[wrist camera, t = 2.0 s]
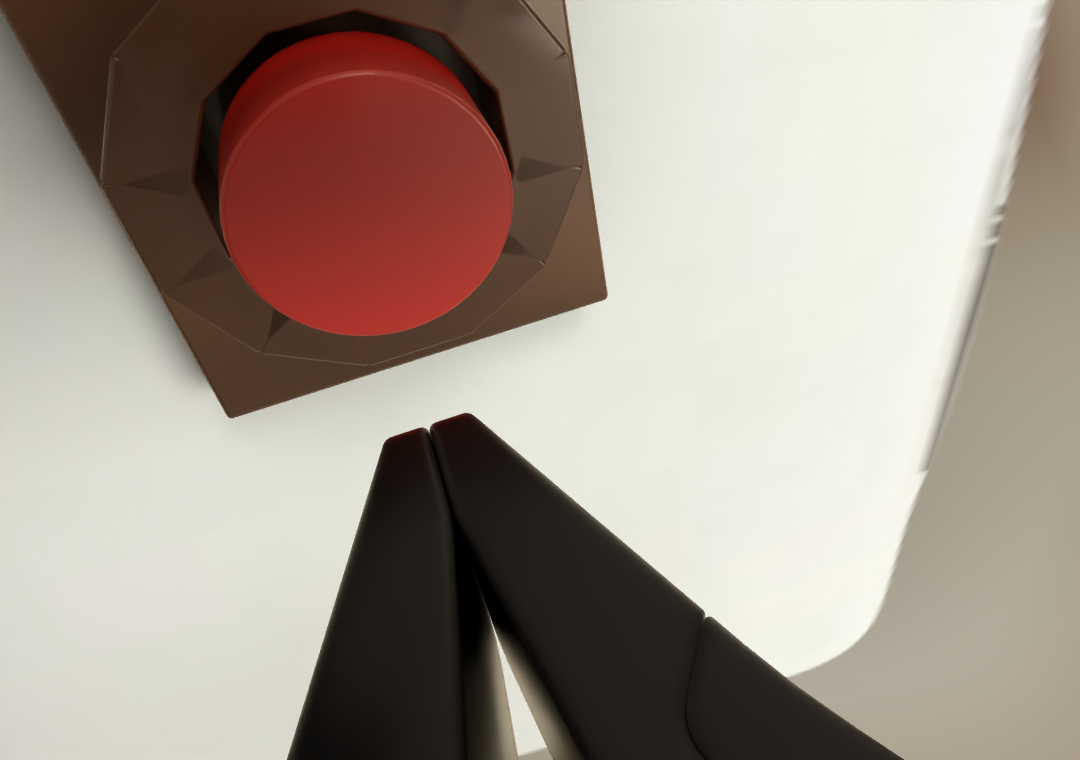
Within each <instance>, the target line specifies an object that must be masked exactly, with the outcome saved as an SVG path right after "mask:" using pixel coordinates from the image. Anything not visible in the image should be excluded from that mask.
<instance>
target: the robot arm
mask: <svg viewBox="0 0 1080 760" xmlns="http://www.w3.org/2000/svg"><path fill="white" fill-rule="evenodd" d="M488 612H489V613H488ZM489 615H490V616H489ZM490 617H491V619H490ZM491 620H492V623H493V626H494V629H495V631H496V634H497V637H498V640H499V642H500V645H501V647H502V649H503V652H504V654H505V656H506V659H507V661H508V663H509V665H510V668H511V670H512V672H513V674H514V676H515V678H516V680H517V683H518V685H519V687H520V689H521V691H522V693H523V696H524V698H525V700H526V702H527V704H528V706H529V708H530V711H531V713H532V715H533V717H534V719H535V721H536V724H537V726H538V728H539V730H540V732H541V734H542V737H543V739H544V741H545V743H546V745H547V747H548V749H549V752H550V754H551V756H552V758H553V760H904V759H902V758H901V757H899V756H898V755H896V754H895V753H893V752H892V751H890V750H889V749H887V748H886V747H884V746H883V745H881V744H880V743H878V742H877V741H875V740H873V739H872V738H871V737H869V736H868V735H866V734H865V733H863V732H862V731H860V730H859V729H857V728H856V727H854V726H853V725H851V724H850V723H849V722H847V721H846V720H844V719H843V718H841V717H840V716H839V715H837V714H836V713H834V712H833V711H832V710H830V709H829V708H827V707H826V706H824V705H823V704H822V703H820V702H819V701H817V700H816V699H814V698H813V697H812V696H810V695H809V694H807V693H806V692H805V691H803V690H802V689H800V688H799V687H797V686H796V685H795V684H793V683H792V682H791V681H790V680H788V679H787V678H786V677H785V676H783V675H782V674H781V673H780V672H778V671H777V670H776V669H775V668H773V667H772V666H771V665H770V664H768V663H767V662H766V661H765V660H763V659H762V658H761V657H759V656H758V655H757V654H756V653H754V652H753V651H752V650H751V649H749V648H748V647H747V646H746V645H744V644H743V643H742V642H741V641H740V640H738V639H737V638H736V637H735V636H734V635H733V634H731V633H730V632H729V631H728V630H727V629H726V628H724V627H723V626H722V625H721V624H720V623H718V622H717V621H716V620H715V619H714V618H712V617H706V618H705V612H704V611H703V610H702V609H701V608H700V607H699V606H698V605H697V604H695V603H694V602H693V601H692V600H691V599H690V598H688V597H687V596H686V595H685V594H684V593H682V592H681V591H680V590H679V589H678V588H677V587H675V586H674V585H673V584H672V583H671V582H670V581H668V580H667V579H666V578H665V577H664V576H662V575H661V574H660V573H659V572H658V571H657V570H655V569H654V568H653V567H652V566H651V565H649V564H648V563H647V562H646V561H645V560H644V559H642V558H641V557H640V556H639V555H638V554H637V553H635V552H634V551H633V550H632V549H631V548H629V547H628V546H627V545H626V544H625V543H624V542H622V541H621V540H620V539H619V538H618V537H616V536H615V535H614V534H613V533H612V532H611V531H609V530H608V529H607V528H606V527H605V526H604V525H602V524H601V523H600V522H599V521H598V520H596V519H595V518H594V517H593V516H592V515H591V514H589V513H588V512H587V511H586V510H585V509H583V508H582V507H581V506H580V505H579V504H578V503H576V502H575V501H574V500H573V499H572V498H571V497H569V496H568V495H567V494H566V493H565V492H563V491H562V490H561V489H560V488H559V487H558V486H556V485H555V484H554V483H553V482H552V481H550V480H549V479H548V478H547V477H546V476H545V475H543V474H542V473H541V472H540V471H539V470H538V469H536V468H535V467H534V466H533V465H532V464H530V463H529V462H528V461H527V460H526V459H525V458H523V457H522V456H521V455H520V454H519V453H518V452H516V451H515V450H514V449H513V448H512V447H510V446H509V445H508V444H507V443H506V442H505V441H503V440H502V439H501V438H500V437H499V436H497V435H496V434H495V433H494V432H493V431H492V430H490V429H489V428H488V427H487V426H486V425H485V424H483V423H482V422H481V421H480V420H479V419H477V418H476V417H475V416H473V415H472V414H469V413H463V414H460V415H457V416H454V417H451V418H448V419H445V420H442V421H439V422H436V423H434V424H432V426H431V427H430V433H429V431H428V430H427V429H426V428H418V429H415V430H412V431H409V432H405V433H402V434H399V435H396V436H393V437H390V438H389V439H387V440H386V441H385V443H384V445H383V448H382V451H381V454H380V457H379V460H378V464H377V467H376V470H375V473H374V477H373V480H372V483H371V486H370V490H369V493H368V496H367V500H366V503H365V506H364V509H363V513H362V516H361V519H360V522H359V526H358V529H357V532H356V535H355V539H354V542H353V545H352V549H351V552H350V555H349V558H348V562H347V565H346V568H345V571H344V575H343V578H342V581H341V584H340V588H339V591H338V594H337V598H336V601H335V604H334V607H333V611H332V614H331V617H330V620H329V624H328V627H327V630H326V634H325V637H324V640H323V643H322V647H321V650H320V653H319V656H318V660H317V663H316V666H315V669H314V673H313V676H312V679H311V683H310V686H309V689H308V692H307V696H306V699H305V702H304V705H303V709H302V712H301V715H300V718H299V722H298V725H297V728H296V732H295V735H294V738H293V741H292V745H291V748H290V751H289V754H288V758H287V760H518V754H517V749H516V743H515V738H514V732H513V726H512V721H511V715H510V709H509V704H508V698H507V693H506V687H505V681H504V676H503V670H502V664H501V660H500V655H499V650H498V645H497V641H496V637H495V633H494V630H493V626H492V623H491Z"/></svg>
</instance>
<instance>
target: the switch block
mask: <svg viewBox="0 0 1080 760" xmlns="http://www.w3.org/2000/svg"><path fill="white" fill-rule="evenodd" d="M0 10H1V11H2V13H3V15H4V17H5V18H6V20H7V22H8V24H9V26H10V27H11V29H12V31H13V33H14V35H15V36H16V38H17V40H18V42H19V44H20V45H21V47H22V49H23V51H24V53H25V54H26V56H27V58H28V60H29V62H30V63H31V65H32V67H33V69H34V71H35V72H36V74H37V76H38V78H39V79H40V81H41V83H42V85H43V87H44V88H45V90H46V92H47V94H48V96H49V97H50V99H51V101H52V103H53V105H54V106H55V108H56V110H57V112H58V114H59V115H60V117H61V119H62V121H63V123H64V124H65V126H66V128H67V130H68V132H69V133H70V135H71V137H72V139H73V140H74V142H75V144H76V146H77V148H78V149H79V151H80V153H81V155H82V157H83V158H84V160H85V162H86V164H87V166H88V167H89V169H90V171H91V173H92V175H93V176H94V178H95V180H96V182H97V184H98V185H99V187H100V189H101V191H102V193H103V194H104V196H105V198H106V200H107V201H108V203H109V205H110V207H111V209H112V210H113V212H114V214H115V216H116V218H117V219H118V221H119V223H120V225H121V227H122V228H123V230H124V232H125V234H126V236H127V237H128V239H129V241H130V243H131V245H132V246H133V248H134V250H135V252H136V254H137V255H138V257H139V259H140V261H141V262H142V264H143V266H144V268H145V270H146V271H147V273H148V275H149V277H150V279H151V280H152V282H153V284H154V286H155V288H156V289H157V291H158V293H159V295H160V297H161V298H162V300H163V302H164V304H165V306H166V307H167V309H168V311H169V313H170V315H171V316H172V318H173V320H174V322H175V323H176V325H177V327H178V329H179V331H180V332H181V334H182V336H183V338H184V340H185V341H186V343H187V345H188V347H189V349H190V350H191V352H192V354H193V356H194V358H195V359H196V361H197V363H198V365H199V367H200V368H201V370H202V372H203V374H204V376H205V377H206V379H207V381H208V383H209V384H210V386H211V388H212V390H213V392H214V393H215V395H216V397H217V399H218V401H219V402H220V404H221V406H222V408H223V410H224V411H225V413H226V415H227V416H228V417H229V418H235V417H238V416H241V415H244V414H248V413H251V412H254V411H257V410H260V409H263V408H266V407H270V406H273V405H276V404H279V403H282V402H285V401H288V400H291V399H295V398H298V397H301V396H304V395H307V394H310V393H313V392H317V391H320V390H323V389H326V388H329V387H332V386H335V385H339V384H342V383H345V382H348V381H351V380H354V379H357V378H361V377H364V376H367V375H370V374H373V373H376V372H379V371H382V370H386V369H389V368H392V367H395V366H398V365H401V364H404V363H408V362H411V361H414V360H417V359H420V358H423V357H426V356H430V355H433V354H436V353H439V352H442V351H445V350H448V349H452V348H455V347H458V346H461V345H464V344H467V343H470V342H473V341H477V340H480V339H483V338H486V337H489V336H492V335H495V334H499V333H502V332H505V331H508V330H511V329H514V328H517V327H521V326H524V325H527V324H530V323H533V322H536V321H539V320H543V319H546V318H549V317H552V316H555V315H558V314H561V313H564V312H568V311H571V310H574V309H577V308H580V307H583V306H586V305H590V304H593V303H596V302H599V301H602V300H605V299H606V298H607V287H606V280H605V273H604V266H603V259H602V252H601V245H600V238H599V232H598V225H597V218H596V211H595V204H594V197H593V190H592V183H591V176H590V169H589V162H588V155H587V149H586V142H585V135H584V128H583V121H582V114H581V107H580V100H579V93H578V86H577V79H576V72H575V66H574V59H573V52H572V45H571V38H570V31H569V24H568V17H567V10H566V3H565V0H0ZM345 31H361V32H373V33H378V34H383V35H388V36H392V37H395V38H398V39H400V40H403V41H406V42H409V43H411V44H413V45H415V46H417V47H419V48H421V49H423V50H425V51H426V52H428V53H429V54H431V55H432V56H433V57H435V58H436V59H438V60H439V61H440V62H442V63H443V64H444V65H445V66H446V67H447V68H448V69H449V70H450V71H451V72H453V74H454V75H455V76H456V77H457V78H458V79H459V81H460V82H461V83H462V84H463V85H464V87H465V88H466V90H467V92H468V93H469V95H470V96H471V98H472V100H473V101H474V103H475V104H476V106H477V107H478V109H479V111H480V112H481V114H482V115H483V117H484V119H485V120H486V122H487V123H488V125H489V127H490V128H491V130H492V131H493V133H494V134H495V136H496V138H497V139H498V141H499V143H500V145H501V147H502V150H503V152H504V154H505V156H506V159H507V163H508V166H509V170H510V173H511V180H512V187H513V211H512V218H511V224H510V228H509V231H508V235H507V239H506V242H505V244H504V246H503V249H502V251H501V253H500V256H499V258H498V259H497V261H496V263H495V264H494V266H493V268H492V270H491V271H490V272H489V274H488V275H487V276H486V278H485V279H484V280H483V282H482V283H481V284H480V285H479V286H478V287H477V288H476V289H475V290H474V291H473V292H472V293H471V294H470V295H469V296H468V297H467V298H466V299H465V300H463V301H462V302H461V303H460V304H458V305H457V306H456V307H454V308H453V309H451V310H450V311H448V312H447V313H445V314H444V315H442V316H440V317H438V318H436V319H434V320H432V321H430V322H428V323H425V324H423V325H420V326H417V327H415V328H412V329H408V330H404V331H401V332H397V333H391V334H384V335H377V336H352V335H341V334H335V333H330V332H325V331H322V330H318V329H315V328H312V327H309V326H306V325H304V324H302V323H299V322H297V321H295V320H293V319H291V318H289V317H288V316H286V315H284V314H282V313H281V312H279V311H278V310H276V309H275V308H274V307H272V306H271V305H270V304H268V303H267V302H266V301H264V300H263V299H262V298H261V297H260V296H259V295H258V294H257V293H256V292H255V291H254V290H253V289H252V288H251V287H250V286H249V284H248V283H247V282H246V281H245V279H244V278H243V277H242V275H241V274H240V273H239V271H238V269H237V267H236V266H235V264H234V262H233V260H232V259H231V257H230V254H229V252H228V249H227V246H226V244H225V241H224V237H223V233H222V228H221V224H220V212H219V176H218V152H219V139H220V134H221V130H222V126H223V121H224V119H225V116H226V114H227V111H228V109H229V106H230V104H231V102H232V101H233V99H234V97H235V95H236V94H237V92H238V90H239V89H240V87H241V86H242V85H243V84H244V82H245V81H246V80H247V79H248V77H249V76H250V75H251V74H252V73H253V72H254V71H255V70H256V69H257V68H258V67H259V66H260V65H261V64H262V63H263V62H265V61H266V60H268V59H269V58H270V57H272V56H273V55H275V54H276V53H277V52H279V51H281V50H283V49H285V48H286V47H288V46H290V45H292V44H294V43H296V42H299V41H302V40H305V39H308V38H311V37H313V36H317V35H322V34H327V33H332V32H345Z"/></svg>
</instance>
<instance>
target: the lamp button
mask: <svg viewBox="0 0 1080 760" xmlns="http://www.w3.org/2000/svg"><path fill="white" fill-rule="evenodd" d="M218 176H219V212H220V224H221V228H222V233H223V237H224V241H225V244H226V246H227V249H228V252H229V254H230V257H231V259H232V260H233V262H234V264H235V266H236V267H237V269H238V271H239V273H240V274H241V275H242V277H243V278H244V279H245V281H246V282H247V283H248V284H249V286H250V287H251V288H252V289H253V290H254V291H255V292H256V293H257V294H258V295H259V296H260V297H261V298H262V299H263V300H264V301H266V302H267V303H268V304H270V305H271V306H272V307H274V308H275V309H276V310H278V311H279V312H281V313H282V314H284V315H286V316H288V317H289V318H291V319H293V320H295V321H297V322H299V323H302V324H304V325H306V326H309V327H312V328H315V329H318V330H322V331H325V332H330V333H335V334H341V335H352V336H377V335H384V334H391V333H397V332H401V331H404V330H408V329H412V328H415V327H417V326H420V325H423V324H425V323H428V322H430V321H432V320H434V319H436V318H438V317H440V316H442V315H444V314H445V313H447V312H448V311H450V310H451V309H453V308H454V307H456V306H457V305H458V304H460V303H461V302H462V301H463V300H465V299H466V298H467V297H468V296H469V295H470V294H471V293H472V292H473V291H474V290H475V289H476V288H477V287H478V286H479V285H480V284H481V283H482V282H483V280H484V279H485V278H486V276H487V275H488V274H489V272H490V271H491V270H492V268H493V266H494V264H495V263H496V261H497V259H498V258H499V256H500V253H501V251H502V249H503V246H504V244H505V242H506V239H507V235H508V231H509V228H510V224H511V218H512V211H513V187H512V180H511V173H510V170H509V166H508V163H507V159H506V156H505V154H504V152H503V150H502V147H501V145H500V143H499V141H498V139H497V138H496V136H495V134H494V133H493V131H492V130H491V128H490V127H489V125H488V123H487V122H486V120H485V119H484V117H483V115H482V114H481V112H480V111H479V109H478V107H477V106H476V104H475V103H474V101H473V100H472V98H471V96H470V95H469V93H468V92H467V90H466V88H465V87H464V85H463V84H462V83H461V82H460V81H459V79H458V78H457V77H456V76H455V75H454V74H453V72H451V71H450V70H449V69H448V68H447V67H446V66H445V65H444V64H443V63H442V62H440V61H439V60H438V59H436V58H435V57H433V56H432V55H431V54H429V53H428V52H426V51H425V50H423V49H421V48H419V47H417V46H415V45H413V44H411V43H409V42H406V41H403V40H400V39H398V38H395V37H392V36H388V35H383V34H378V33H373V32H361V31H345V32H332V33H327V34H322V35H317V36H313V37H311V38H308V39H305V40H302V41H299V42H296V43H294V44H292V45H290V46H288V47H286V48H285V49H283V50H281V51H279V52H277V53H276V54H275V55H273V56H272V57H270V58H269V59H268V60H266V61H265V62H263V63H262V64H261V65H260V66H259V67H258V68H257V69H256V70H255V71H254V72H253V73H252V74H251V75H250V76H249V77H248V79H247V80H246V81H245V82H244V84H243V85H242V86H241V87H240V89H239V90H238V92H237V94H236V95H235V97H234V99H233V101H232V102H231V104H230V106H229V109H228V111H227V114H226V116H225V119H224V121H223V126H222V130H221V134H220V139H219V152H218Z"/></svg>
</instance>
